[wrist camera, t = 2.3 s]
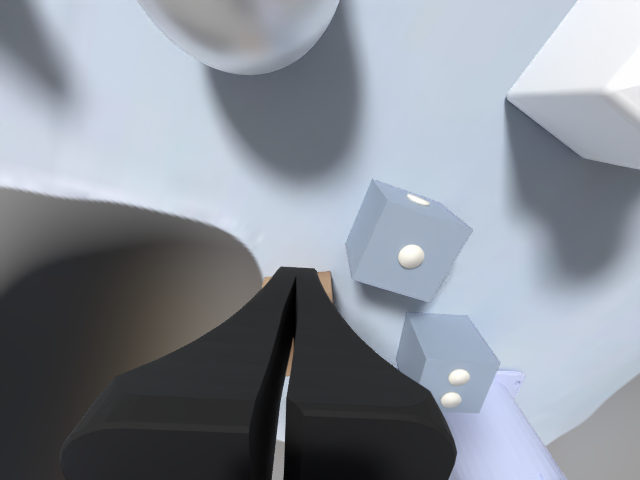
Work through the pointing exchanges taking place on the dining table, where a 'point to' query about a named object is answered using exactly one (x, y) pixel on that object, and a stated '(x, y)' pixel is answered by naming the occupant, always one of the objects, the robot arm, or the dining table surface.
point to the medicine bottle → (589, 82)
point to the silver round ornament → (242, 30)
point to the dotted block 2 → (447, 360)
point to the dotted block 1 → (404, 242)
